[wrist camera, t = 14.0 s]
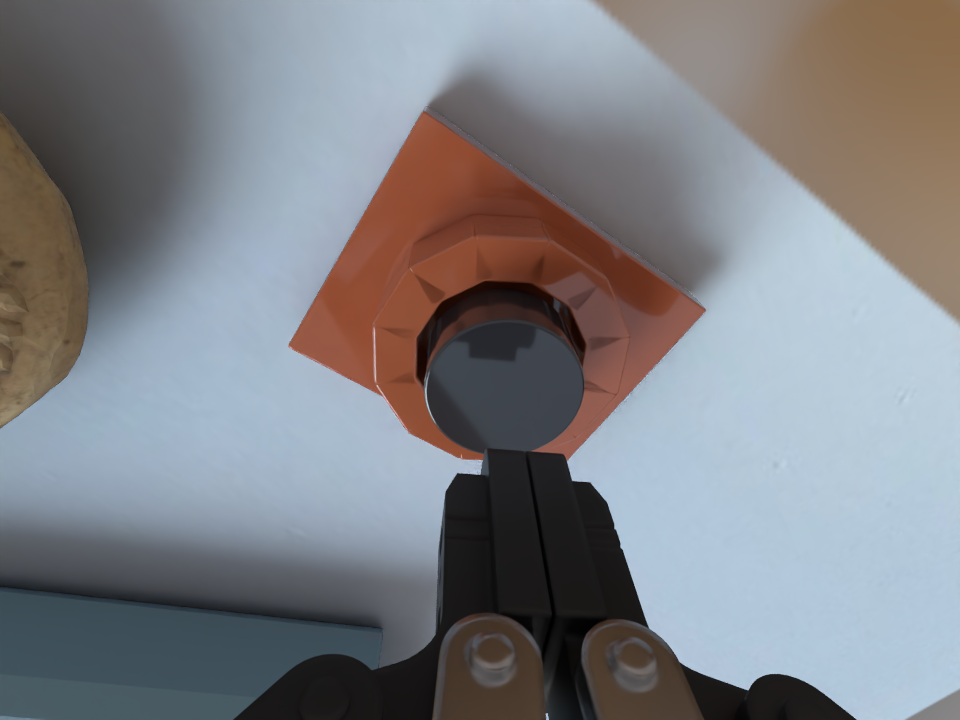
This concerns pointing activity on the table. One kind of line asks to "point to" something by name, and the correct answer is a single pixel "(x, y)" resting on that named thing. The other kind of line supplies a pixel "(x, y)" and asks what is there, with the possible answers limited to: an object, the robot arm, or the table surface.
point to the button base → (484, 281)
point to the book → (151, 657)
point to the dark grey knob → (502, 372)
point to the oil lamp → (36, 279)
